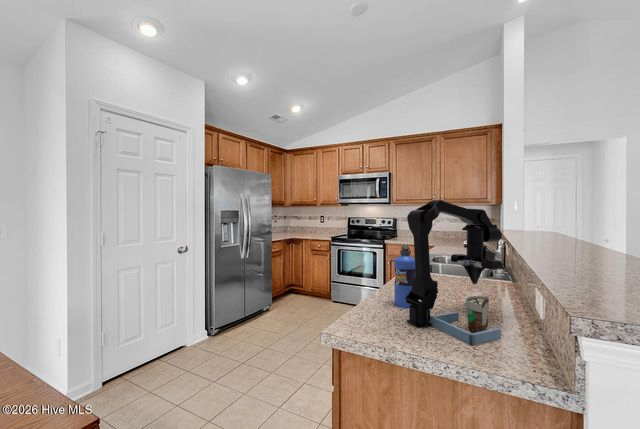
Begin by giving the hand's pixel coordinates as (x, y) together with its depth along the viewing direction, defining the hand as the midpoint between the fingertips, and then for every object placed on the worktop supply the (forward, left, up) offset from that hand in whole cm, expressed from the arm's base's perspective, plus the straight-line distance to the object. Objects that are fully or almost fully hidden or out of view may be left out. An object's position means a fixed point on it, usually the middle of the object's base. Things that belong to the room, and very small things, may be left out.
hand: (474, 283), depth 112 cm
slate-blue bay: (-17, -10, -12) cm, 23 cm away
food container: (-12, -10, -12) cm, 19 cm away
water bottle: (-16, +20, -12) cm, 28 cm away
